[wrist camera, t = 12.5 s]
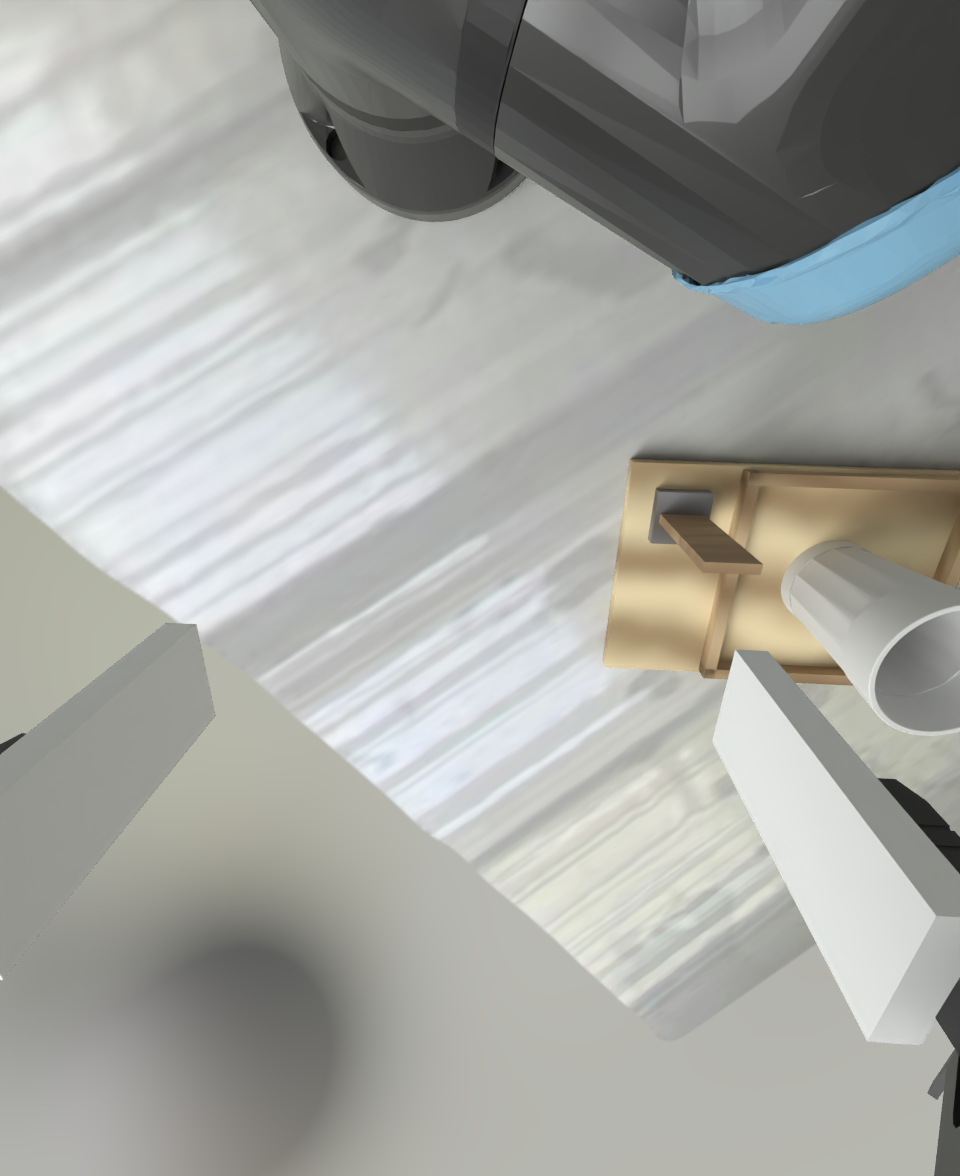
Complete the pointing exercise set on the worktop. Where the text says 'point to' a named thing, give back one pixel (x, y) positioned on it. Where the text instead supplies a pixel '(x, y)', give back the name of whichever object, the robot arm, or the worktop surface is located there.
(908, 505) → the board
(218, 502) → the worktop surface
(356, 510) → the worktop surface
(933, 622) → the cup
